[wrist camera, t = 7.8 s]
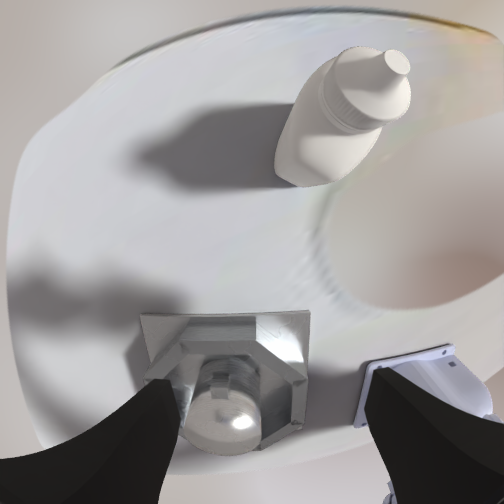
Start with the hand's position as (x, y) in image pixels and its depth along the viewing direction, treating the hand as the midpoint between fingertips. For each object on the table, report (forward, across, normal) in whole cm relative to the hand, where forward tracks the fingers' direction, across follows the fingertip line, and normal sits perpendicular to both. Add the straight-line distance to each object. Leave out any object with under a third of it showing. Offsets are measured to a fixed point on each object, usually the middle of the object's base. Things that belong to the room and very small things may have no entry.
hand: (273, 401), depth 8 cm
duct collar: (+10, +3, +7) cm, 12 cm away
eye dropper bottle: (+10, -3, -10) cm, 15 cm away
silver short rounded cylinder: (+10, +3, +7) cm, 12 cm away
